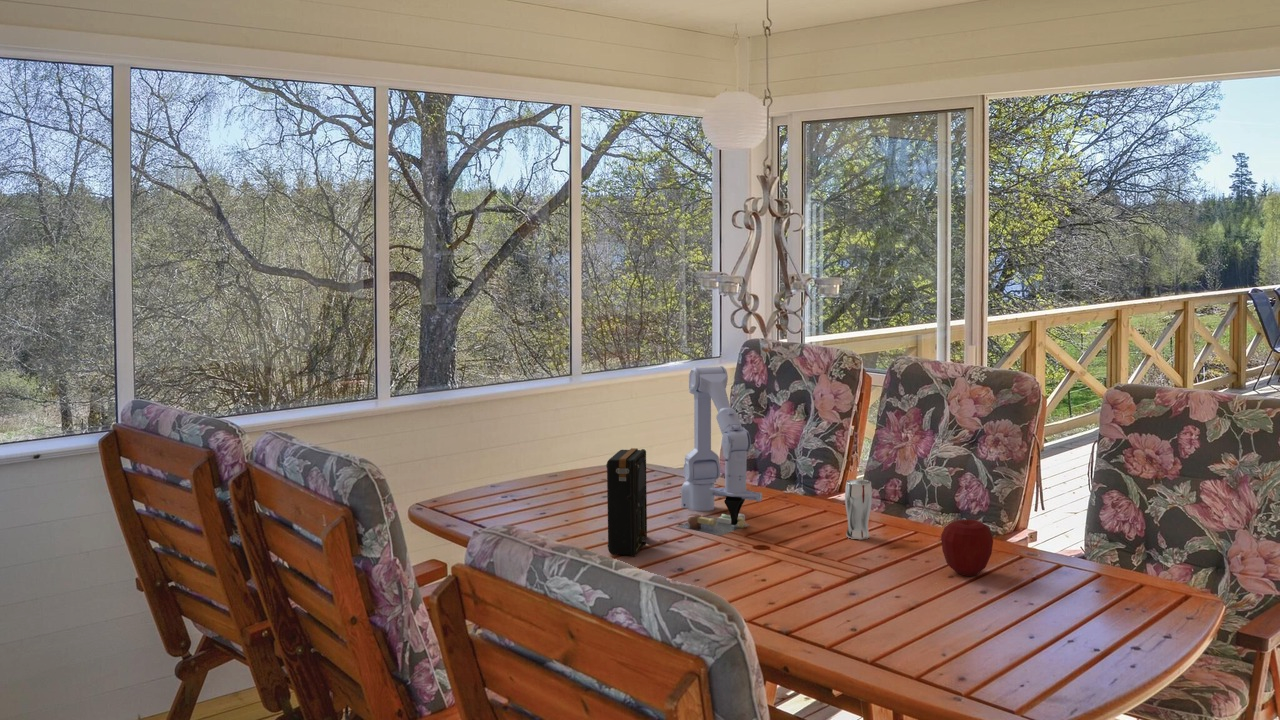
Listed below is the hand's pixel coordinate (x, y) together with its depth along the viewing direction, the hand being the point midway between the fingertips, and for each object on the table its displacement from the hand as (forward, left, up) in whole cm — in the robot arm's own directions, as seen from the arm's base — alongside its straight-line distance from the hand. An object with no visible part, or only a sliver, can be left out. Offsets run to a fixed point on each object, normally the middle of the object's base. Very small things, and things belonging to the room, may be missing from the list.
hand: (735, 524), depth 277 cm
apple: (+62, +6, -3) cm, 63 cm away
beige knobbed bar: (-8, -4, -2) cm, 9 cm away
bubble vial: (-7, +5, -2) cm, 8 cm away
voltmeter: (-14, -28, -3) cm, 31 cm away
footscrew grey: (0, +2, -1) cm, 2 cm away
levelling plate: (-7, 0, -3) cm, 8 cm away
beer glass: (+27, +18, -3) cm, 33 cm away
